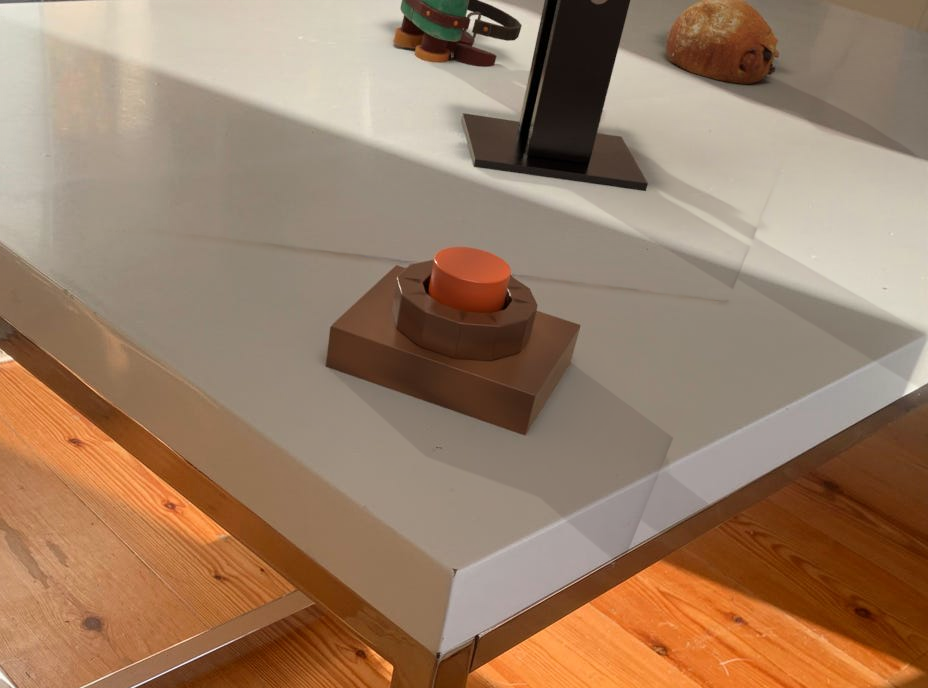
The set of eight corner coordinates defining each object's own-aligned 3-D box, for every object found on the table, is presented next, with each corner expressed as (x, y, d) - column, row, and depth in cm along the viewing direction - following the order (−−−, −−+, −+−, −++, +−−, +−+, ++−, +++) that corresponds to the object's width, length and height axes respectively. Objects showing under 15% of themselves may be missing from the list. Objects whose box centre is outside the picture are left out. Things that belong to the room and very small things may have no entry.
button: (513, 295, 54) (521, 261, 53) (489, 325, 51) (497, 289, 50) (443, 273, 54) (449, 239, 53) (416, 301, 51) (422, 265, 50)
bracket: (617, 152, 84) (671, -51, 75) (643, 200, 77) (706, -17, 68) (459, 129, 82) (496, -83, 73) (471, 176, 75) (514, -51, 66)
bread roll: (697, 86, 115) (689, 1, 112) (796, 71, 109) (790, -20, 106) (654, 102, 108) (644, 11, 105) (756, 86, 102) (749, -11, 99)
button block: (570, 363, 57) (590, 291, 54) (525, 436, 51) (544, 359, 48) (390, 303, 59) (401, 231, 56) (325, 367, 53) (334, 289, 50)
